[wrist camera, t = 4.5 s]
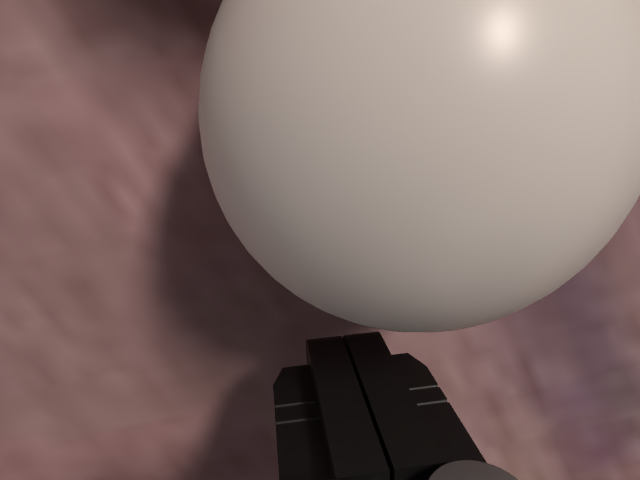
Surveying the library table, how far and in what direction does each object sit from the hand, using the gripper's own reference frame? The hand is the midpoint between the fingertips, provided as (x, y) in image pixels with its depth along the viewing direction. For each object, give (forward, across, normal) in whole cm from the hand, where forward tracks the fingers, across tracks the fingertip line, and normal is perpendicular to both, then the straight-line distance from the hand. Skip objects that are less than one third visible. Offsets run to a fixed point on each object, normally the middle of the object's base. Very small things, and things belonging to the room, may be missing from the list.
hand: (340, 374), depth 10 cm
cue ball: (-1, -1, -5) cm, 5 cm away
